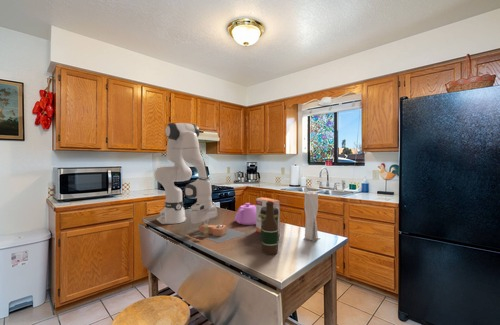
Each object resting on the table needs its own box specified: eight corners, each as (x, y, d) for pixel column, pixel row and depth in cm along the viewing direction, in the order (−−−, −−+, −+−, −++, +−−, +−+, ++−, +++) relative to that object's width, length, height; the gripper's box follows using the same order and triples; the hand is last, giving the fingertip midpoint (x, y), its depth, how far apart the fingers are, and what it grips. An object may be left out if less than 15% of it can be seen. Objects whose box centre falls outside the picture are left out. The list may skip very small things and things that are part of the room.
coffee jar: (281, 241, 128) (281, 207, 128) (271, 245, 123) (271, 209, 122) (267, 237, 135) (267, 204, 135) (258, 241, 130) (257, 206, 129)
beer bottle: (260, 249, 118) (260, 200, 118) (276, 248, 119) (276, 200, 118) (263, 255, 111) (262, 203, 110) (279, 254, 111) (279, 203, 111)
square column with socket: (227, 231, 140) (226, 225, 139) (222, 236, 134) (221, 229, 134) (203, 229, 146) (203, 223, 145) (198, 233, 141) (197, 226, 140)
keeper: (209, 238, 134) (208, 227, 134) (203, 239, 133) (203, 227, 133) (207, 235, 139) (207, 224, 139) (202, 236, 138) (202, 224, 138)
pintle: (217, 235, 139) (217, 225, 139) (220, 234, 140) (220, 224, 140) (219, 236, 137) (219, 226, 137) (222, 235, 139) (222, 225, 139)
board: (192, 234, 141) (192, 233, 140) (220, 227, 156) (220, 225, 156) (218, 245, 124) (218, 243, 124) (247, 235, 139) (247, 233, 139)
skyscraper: (300, 239, 133) (300, 188, 132) (307, 235, 139) (307, 187, 138) (315, 242, 127) (315, 190, 127) (321, 238, 134) (321, 188, 133)
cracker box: (255, 233, 143) (255, 198, 143) (262, 230, 148) (262, 196, 147) (273, 238, 133) (272, 201, 133) (280, 236, 137) (280, 199, 137)
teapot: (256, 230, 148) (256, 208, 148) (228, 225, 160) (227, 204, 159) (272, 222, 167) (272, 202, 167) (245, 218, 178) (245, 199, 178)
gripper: (211, 201, 155) (212, 222, 155) (188, 207, 138) (189, 231, 138) (219, 202, 152) (219, 224, 152) (196, 208, 135) (197, 232, 135)
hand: (205, 227), depth 145 cm, fingers closed
